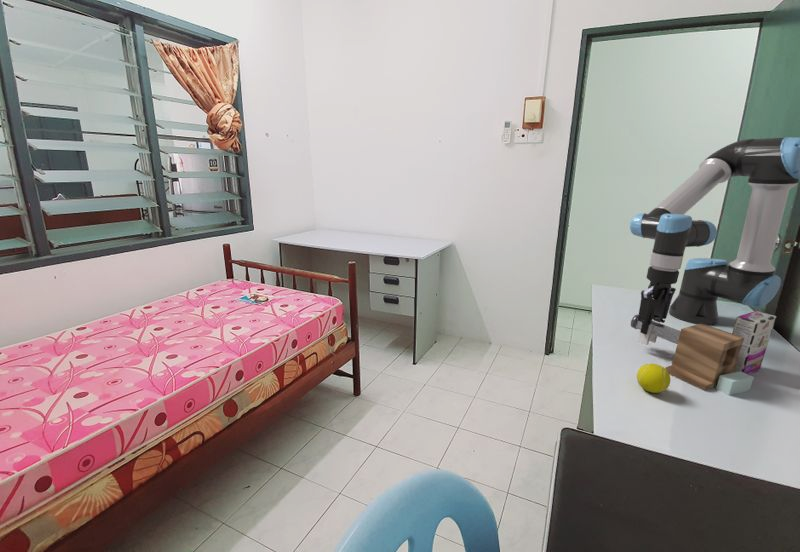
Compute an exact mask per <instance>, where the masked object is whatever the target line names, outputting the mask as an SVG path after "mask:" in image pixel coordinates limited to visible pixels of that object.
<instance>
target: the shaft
mask: <svg viewBox="0 0 800 552" xmlns="http://www.w3.org/2000/svg"><path fill="white" fill-rule="evenodd" d="M638 315H639V314H635V315H634V316H633V317H632V319H631V321H630V327H631V328H633V329H635V330H639V331H640V330H641V326H642V322H640V321H638ZM651 324H653V326H652V330H651V334H652V335H655V336H657V338H660V339H663V340H666V341H667V342H670V343H673V344H676V345H677V343H678V340H679V336H680V332H681V330H679V329H676V328H674V327H670V326H668V325H665V324H664V323H661V322H660V323H657V322H654V321H652V323H651Z"/></svg>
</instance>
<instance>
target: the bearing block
mask: <svg viewBox="0 0 800 552" xmlns="http://www.w3.org/2000/svg"><path fill="white" fill-rule="evenodd" d="M680 331H681V332H680V336H679V340H678V343H677V344H676V348H675V352H674V355H673V359H672V363H671V365H667V366H666V367H664V368H665V369H666V370H667V371H668V373H669V375H670V376H672V377H673V378H676V379H679V380H681V381H683V382H685V383H687V384H689V385H691V386H694V387H695V388H698V389H700V390H702V391H708V390H711V389H713V388H715V387H717V384H718V380H719V377H720V375H725V374H730V373H735V371H734V369H735V366H736V363H737V360H738V357H739V353H740V350H741V347H742V344H743V341H744V337H741V336H738V335H735V334H732V333H733V332H732V333H731V332H728V331H726V330H722V329H719V328H717V327H715V326H714V327H713V326H712V325H711V326H710V325H709V324H702V323H701V324H698V323H696V324H694V325H691V326H687V327H683V328H680Z"/></svg>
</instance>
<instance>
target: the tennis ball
mask: <svg viewBox="0 0 800 552" xmlns="http://www.w3.org/2000/svg"><path fill="white" fill-rule="evenodd" d="M636 380H637V383H638V385H639V386H640V387H641V388H642V389H643V390H645V391H647V392H649V393H652V394H653V393H654V394H659V393H662V392H665V391H666V390H667V389H668V388H669V387H670V384H671V375H670V374H669V373H668V371H667V370H666V369H665V367H664V366H662V365H659V364H657V363H651V362H650V363H645V364H643V365H642V366H640V367H639V368H638V370H637V374H636Z"/></svg>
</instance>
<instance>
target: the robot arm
mask: <svg viewBox="0 0 800 552" xmlns="http://www.w3.org/2000/svg"><path fill="white" fill-rule="evenodd" d="M733 177H748V181H747V185H749V186H750V187H751V194H750V198H749V203H748V206H747V211H746V216H745V219H744V225H743V228H742V232H741V237H740V242H739V247H738V249H737V250H738V251H737V254H736V258H735V259H734V260H733V261H730V262H729V261H727V260H725V259H721V258H711V257H710V258H707V257H704V258H703V257H697V258H694V257H693V258H690V259H688V260H687V262H686V265H685V267H684V272H683V275H682V280H681V284H680V288H679V293H678V295H677V296H676V297H675V299H674V301H673V302H672V299H673V296H674V294H675V292H676V291H677V289H676V287H675V288H674V287H673V286H672V285H675V284H677V282H678V279H679V276H680V271H679V270H680V269H681V268H682V264H683V258H684V254H685V251H686V250H685V249H686V248H687V247H688V248H690V247H702V246H707V245H710V244H712V243H713V241H715V240H716V237H717V235H718V230H717V227H716V226H715V224H714V223H713V222H711V221H709V220H702V219H696V220H693V217H692V216H690V215H688V214H686V213H688V212H689V211H690V210H691V209H692V208H693V207H694V206H695V205H696V204H698V202H700V200H702V199H704V197H706V195H707V194H709V193H710V192H711V191H712V190H713V189H714V188H716V186H717V185H719V184H723V183H725V182H727V181H728V180H730V178H733ZM799 182H800V137H790V136H788V137H773V138H772V137H770V138H768V137H767V138H746V139H742V140H738V141H734V142H731V143H730V144H728V145H726V146H723V147H721V148H720V149H717V150H716V151H715V152H713V153H711V154H709V156H708V157H706V158H705V159H704V160H703V161H702V162H701V163H700V164H699V167H698V170H696V171H695V172H694V173H693V174H692V175H691V176H690V177H688V178H687V179H686V180H685V181H684V182H683V183H681V184H680V185H679V186H678V187H677V188H675V190H673V191H672V192H671V193H670V194H669V195H668V196H667V197H665V199H663V200H662V201H661V202H660V203H659V204H658V205H657V206H656V207H654V208H653V209H652V210H651V211H650V212H648V213H646V212H644V213H637V214H635V215H634V216H633V217H632V219H631V221H630V224H629V230H630V232H631V234H632V235H634V236H637V237H640V238H643V239H650V240H654V243H653V248H652V252H651V254H650V261H649V265H650V266H648V268H647V273H646V279H647V280H648V281H650V282H649V284H648V286H647V289H646V290H641V292H640V295H641V297H640V303H639V304H640V305H639V309H638V314H637V315H638V321H640V322H642V326H641V330H640V329H639V336H638V338H637V339H638V340H637V342H639V343H641V344H644V345H646V346H648V345H649V342H651V343H653V344H654V343H657V338H658V337H657V336H655V335H652V334H651V330H652V326H653V324H651V323H652V321H654V322H657V323H660V324H664V323H665V322H666V319H667V317H668V314H670V316H672V317H675V318H676V319H679V320H682V321H684V322H685V321H686V322H689V323H693V324H701V323H702V324H705V325H716V324H717V323H718V320H719V311H718V310H719V309H718V304H717V301H718V298H721V299H723V300H727V301H732V302H735V303H737V304H741V305H743V306H749V307H753V308H762V307H764V306H767V304H769V303H770V302H771V301H772V300H773V299H774V298H775V296H776V295H777V294H778V291H780V290H779V289H780V287H781V284H782V279H781V277H780V276H778V275H775V271H776V267H775V266H773V264H772V259H773V255H774V251H775V247H776V242H777V240H778V236H779V235H778V234H779V232H780V228H781V224H782V220H783V216H784V212H785V209H786V206H787V201H788V197H789V192H790V190H791V189H792V188H794V187H796V186H797V185H798V184H799ZM728 262H729V263H728ZM671 303H672V304H671Z"/></svg>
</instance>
